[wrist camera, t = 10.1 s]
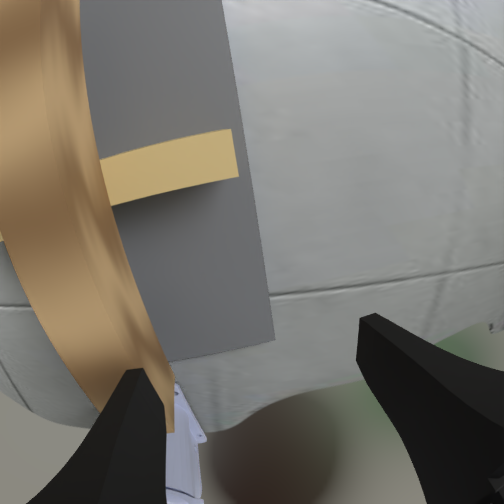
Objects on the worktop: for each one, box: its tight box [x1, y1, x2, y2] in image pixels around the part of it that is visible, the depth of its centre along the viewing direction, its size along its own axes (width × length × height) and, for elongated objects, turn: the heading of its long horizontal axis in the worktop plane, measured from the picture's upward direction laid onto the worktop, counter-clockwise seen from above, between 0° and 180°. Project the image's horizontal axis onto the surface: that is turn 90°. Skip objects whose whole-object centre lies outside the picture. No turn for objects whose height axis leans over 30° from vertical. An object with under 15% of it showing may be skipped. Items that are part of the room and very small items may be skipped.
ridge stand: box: [0, 0, 275, 362], centre depth 13 cm, size 26×16×4 cm, turn 9°
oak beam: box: [0, 0, 175, 433], centre depth 9 cm, size 22×3×4 cm, turn 9°
